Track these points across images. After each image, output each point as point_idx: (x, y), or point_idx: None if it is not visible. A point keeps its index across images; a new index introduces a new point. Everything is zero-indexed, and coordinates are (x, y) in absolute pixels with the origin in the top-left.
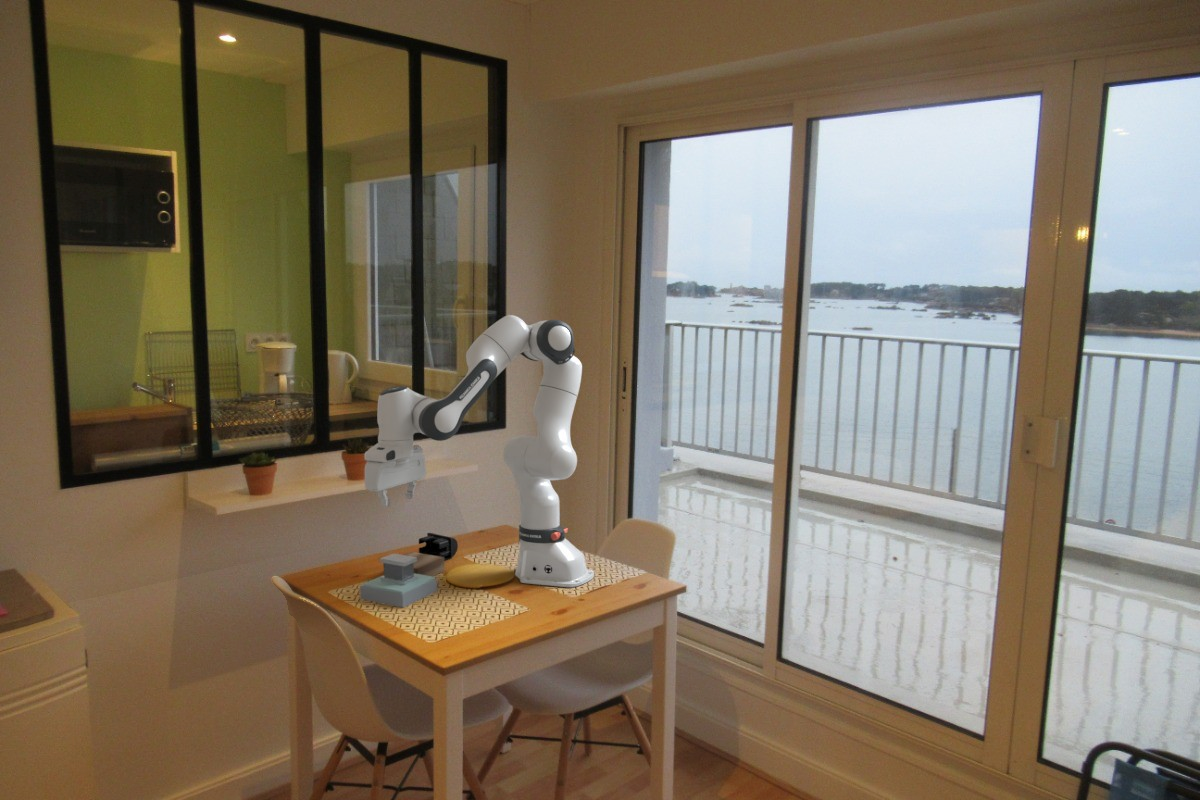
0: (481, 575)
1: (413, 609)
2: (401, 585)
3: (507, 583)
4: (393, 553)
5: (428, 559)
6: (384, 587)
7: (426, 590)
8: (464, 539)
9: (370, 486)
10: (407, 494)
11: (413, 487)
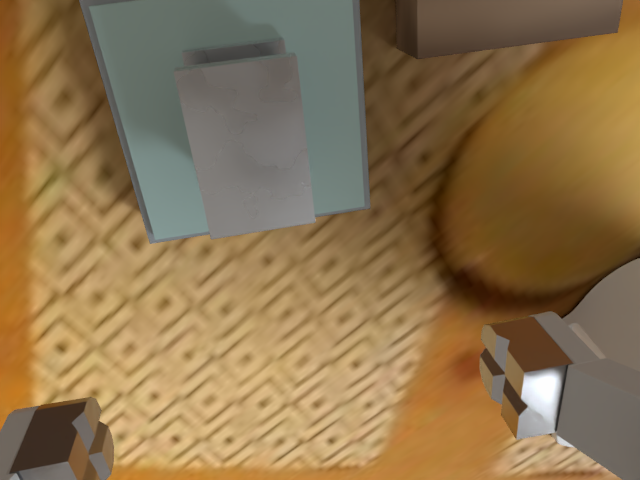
0: (571, 188)
1: (171, 258)
2: None
3: (526, 305)
4: (296, 58)
5: None
6: (133, 143)
7: None
8: None
9: None
10: (509, 377)
11: (617, 471)
